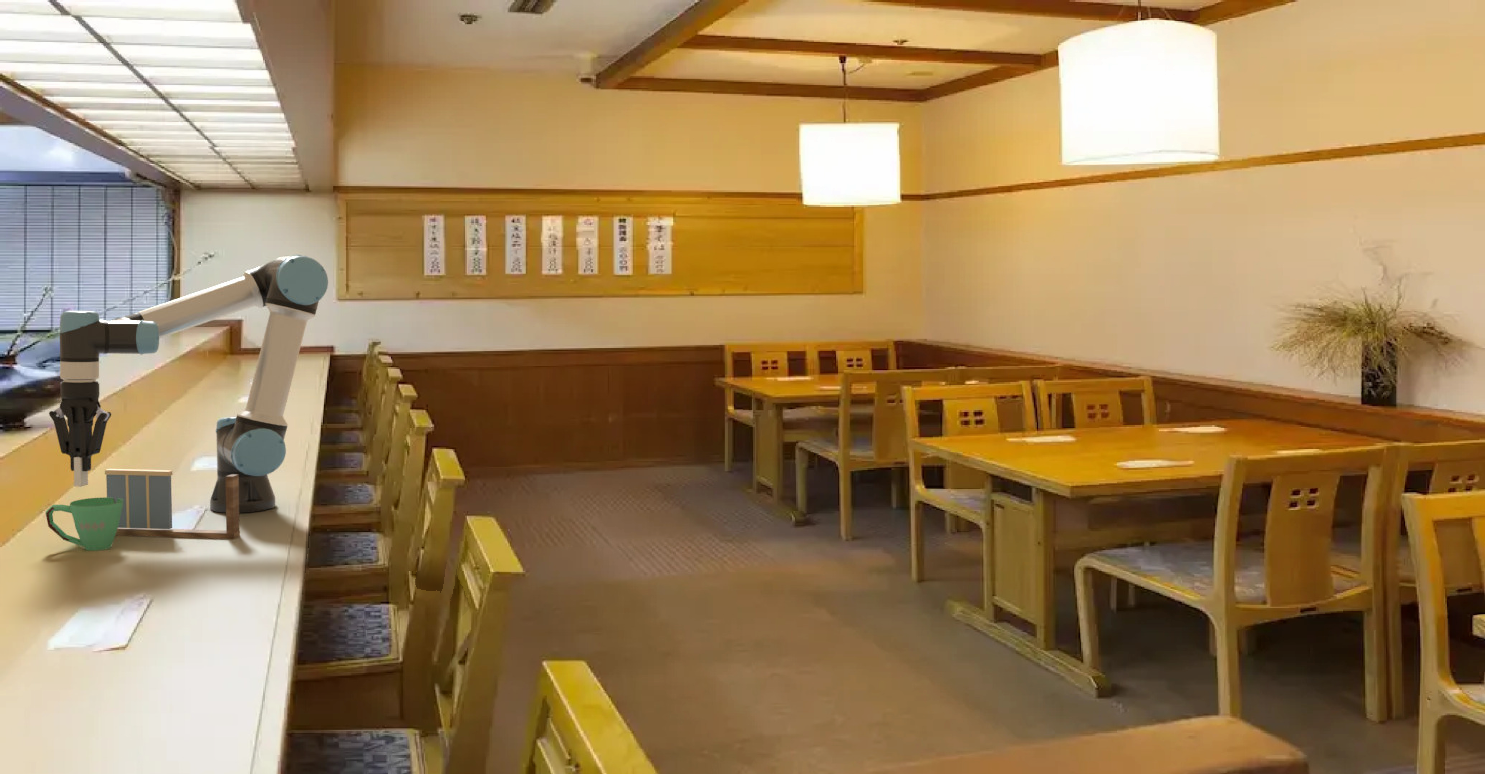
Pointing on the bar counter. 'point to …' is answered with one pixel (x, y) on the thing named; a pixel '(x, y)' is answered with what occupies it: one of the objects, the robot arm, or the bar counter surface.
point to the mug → (90, 521)
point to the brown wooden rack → (229, 533)
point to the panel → (142, 497)
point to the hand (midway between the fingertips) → (81, 485)
